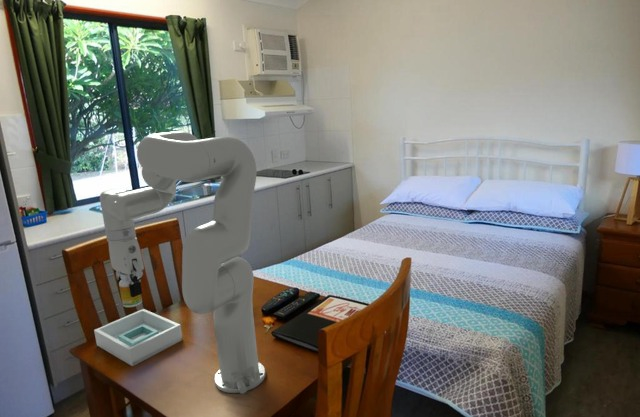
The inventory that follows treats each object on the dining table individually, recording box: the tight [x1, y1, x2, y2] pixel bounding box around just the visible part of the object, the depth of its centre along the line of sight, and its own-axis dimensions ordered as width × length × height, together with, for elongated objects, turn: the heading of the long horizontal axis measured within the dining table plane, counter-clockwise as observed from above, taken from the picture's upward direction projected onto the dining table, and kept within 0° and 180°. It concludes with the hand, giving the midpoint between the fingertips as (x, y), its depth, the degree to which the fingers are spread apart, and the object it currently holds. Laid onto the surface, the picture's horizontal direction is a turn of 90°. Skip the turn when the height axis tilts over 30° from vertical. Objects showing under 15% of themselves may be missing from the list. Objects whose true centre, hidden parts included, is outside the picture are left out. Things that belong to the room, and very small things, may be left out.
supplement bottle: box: [118, 270, 143, 308], centre depth 126 cm, size 5×5×10 cm
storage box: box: [93, 308, 184, 367], centre depth 130 cm, size 20×16×5 cm
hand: (130, 292), depth 127 cm, fingers closed on supplement bottle, 5 cm apart
